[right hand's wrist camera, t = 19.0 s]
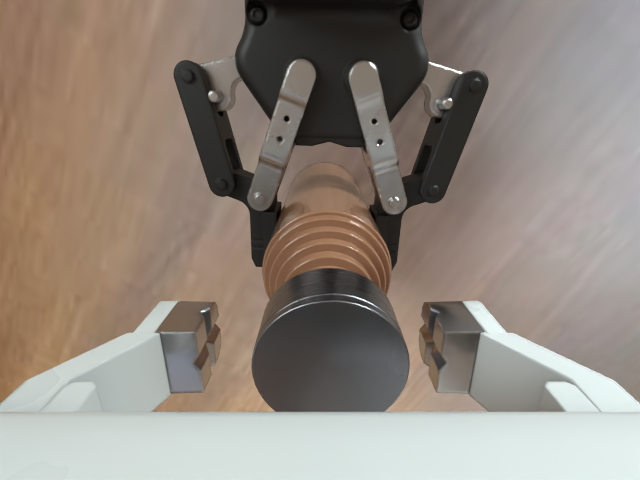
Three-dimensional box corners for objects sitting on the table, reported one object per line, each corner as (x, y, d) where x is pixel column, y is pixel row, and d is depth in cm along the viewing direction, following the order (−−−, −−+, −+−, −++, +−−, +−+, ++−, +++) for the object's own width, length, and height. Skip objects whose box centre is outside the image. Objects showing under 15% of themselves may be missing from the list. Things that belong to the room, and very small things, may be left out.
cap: (303, 396, 11) (300, 448, 9) (237, 303, 10) (220, 343, 8) (415, 348, 10) (434, 396, 8) (359, 243, 9) (367, 273, 7)
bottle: (326, 147, 24) (338, 223, 8) (372, 199, 25) (467, 360, 9) (275, 195, 25) (191, 349, 9) (321, 242, 26) (323, 456, 10)
